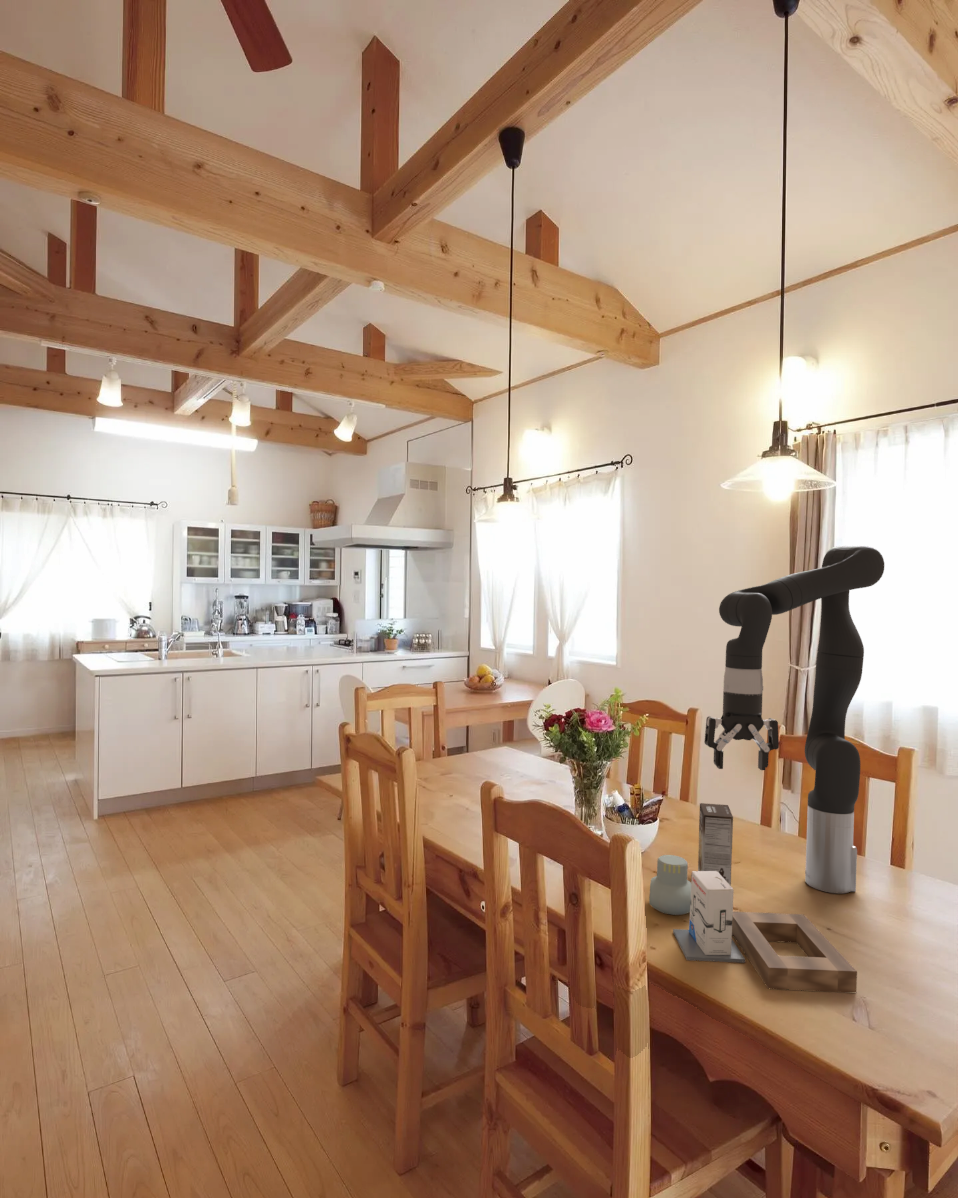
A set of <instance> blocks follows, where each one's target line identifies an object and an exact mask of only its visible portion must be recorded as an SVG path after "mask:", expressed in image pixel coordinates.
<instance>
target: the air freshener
mask: <svg viewBox="0 0 958 1198" xmlns="http://www.w3.org/2000/svg"><path fill="white" fill-rule="evenodd" d="M656 862H657V864H656V865H657V866H656V867H657V868H656V875H655V876H653V877H651V878H650V885H649V896H648V897H649V901H648V902H649V903H648V904H649V905H650V906H651V907H652V908H653V909H655V910H657V911H659V912H660V913H662V914H666V915H670V916H671V915H672V916H681V915H682V916H683V915H685V914H690V902H691V882H692V881H690V880H688V866H689V865H688V861H687V860H686V859H685V858H684V857H681V856H678V855H674V854H663V855H661V856H659V857H658V858H657V861H656Z"/></svg>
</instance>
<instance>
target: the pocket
mask: <svg viewBox="0 0 958 1198" xmlns="http://www.w3.org/2000/svg"><path fill="white" fill-rule="evenodd" d="M732 937H733V938H734V940H735V942H736V943H737V944H738V946H739V947H740V950H742V952H743V953H744V955H745V956H746V957H747V959H748V961H749V962H750V964H751V965H752V968H754V970H755V971H756V973H757V975H758V976H759V977H760V979H761V980H762V982H763V983H764V985H765V984H766V985H765V986H766V988H767V989H768V990H779V989H783V991H787V990H786V989H789V990H788V991H801V990H802V991H803V990H804V991H805V990H806V992H826V993H827V992H828V993H845V992H856V993H857V986H858V985H857V984H858V981H857V980H858V971H857V970H856V968H854V966H853V965H852V964H851V963H850V962H849V961H848V960H847V959H846V958H845V957H844V956H843V954H842V953H840V951H839V950H838V949H837V948H836V947H835V945H833V944H832V943H831V942H830V940H829V939H828V938H827V937H826V936H825V935H824V934H823V933H822V932H821V931H820V930H819V929H818V928H817V927H816V925H814V923H813V922H812V921H811V920H810V919H809V918H808V917H807V916H806V915H805V914H803V913H801V914H800V913H799V914H798V913H782V912H781V913H779V912H777V913H776V912H775V913H773V912H754V911H751V912H750V911H733V918H732ZM770 942H773V943H775V942H776V943H796V944H797V945H798V947H799V948H800V949H801V950H802V952H804V955H806V956H797V955H795V956H793V955H779V954H778V953H777V952H776V951H775V949H774V948H773V947H772V946H771V944H770ZM769 988H770V989H769ZM784 989H785V990H784ZM807 990H808V991H807Z"/></svg>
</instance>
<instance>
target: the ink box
mask: <svg viewBox="0 0 958 1198" xmlns="http://www.w3.org/2000/svg"><path fill="white" fill-rule="evenodd" d="M690 882H691V902H690V912H689V922H688V923H689V924H688V930H689V933H690V934H691V936H692V937H693V938H694V940H695V941H696V943H697V944H698V945H699V947H700V948H701V950H702V951H703V952H704V954H705V955H731V942H732V940H733V938H732V937H733V935H732V918H733V912H734V894H735V892H734V888H733V886H732V885H731V886H730V885H729V884H728V882H727V881H726V880H725V879H724V878H723V877H722V876H721V875H720V874H719V872H717V871H698V870H692V871H691V881H690Z"/></svg>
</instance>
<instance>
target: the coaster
mask: <svg viewBox="0 0 958 1198" xmlns="http://www.w3.org/2000/svg"><path fill="white" fill-rule="evenodd" d="M672 933H673V935H674V937H675V940H676V941H677V943H678V945H679V948H680V949H681V951H682V953H683V956H684V958H685V959H686V961H696V960H697V961H698V960H699V961H701V962H702V961H703V962H718V961H719V962H724V963H741V964H742V963H743V964H744V963H746V958H745V957H744V955H743V954H742V952H741V950H740V949H739V947H738V945H737V944H736V943H735V941H734V940H733V939H732V942H731V955H705V954H704V952H703V951H702V950H701V948H700V947H699V945H698V944H697V943H696V941H695V940H694V938H693V937H692V936H691V934H690V933H689V929H680V928H679V929H678V928H672ZM699 961H698V962H699Z"/></svg>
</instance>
